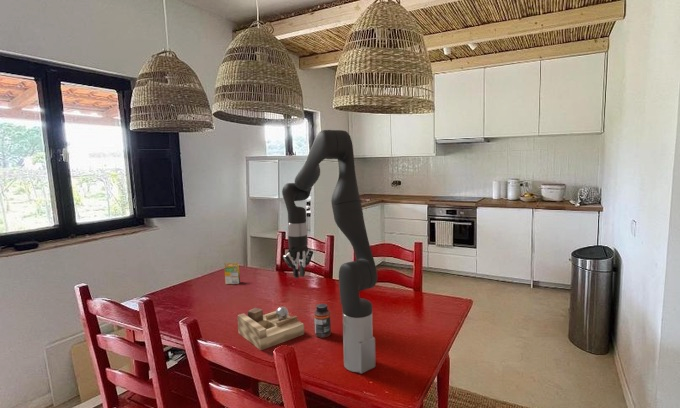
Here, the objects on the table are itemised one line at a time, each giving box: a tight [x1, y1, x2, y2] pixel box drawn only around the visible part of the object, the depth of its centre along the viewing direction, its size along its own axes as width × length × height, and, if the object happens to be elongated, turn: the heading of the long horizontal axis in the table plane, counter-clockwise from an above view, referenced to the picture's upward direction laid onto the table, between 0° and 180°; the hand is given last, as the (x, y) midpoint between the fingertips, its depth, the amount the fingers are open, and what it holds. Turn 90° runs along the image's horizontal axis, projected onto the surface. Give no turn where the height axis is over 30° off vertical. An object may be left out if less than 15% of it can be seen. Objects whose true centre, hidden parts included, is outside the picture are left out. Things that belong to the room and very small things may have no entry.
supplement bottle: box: [313, 303, 332, 339], centre depth 135 cm, size 6×6×11 cm
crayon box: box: [224, 262, 241, 285], centre depth 198 cm, size 7×3×12 cm, turn 93°
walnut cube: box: [247, 307, 264, 322], centre depth 140 cm, size 4×4×4 cm
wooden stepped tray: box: [237, 310, 305, 351], centre depth 138 cm, size 18×18×7 cm
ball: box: [274, 306, 289, 320], centre depth 140 cm, size 5×5×5 cm
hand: (299, 276), depth 144 cm, fingers closed
